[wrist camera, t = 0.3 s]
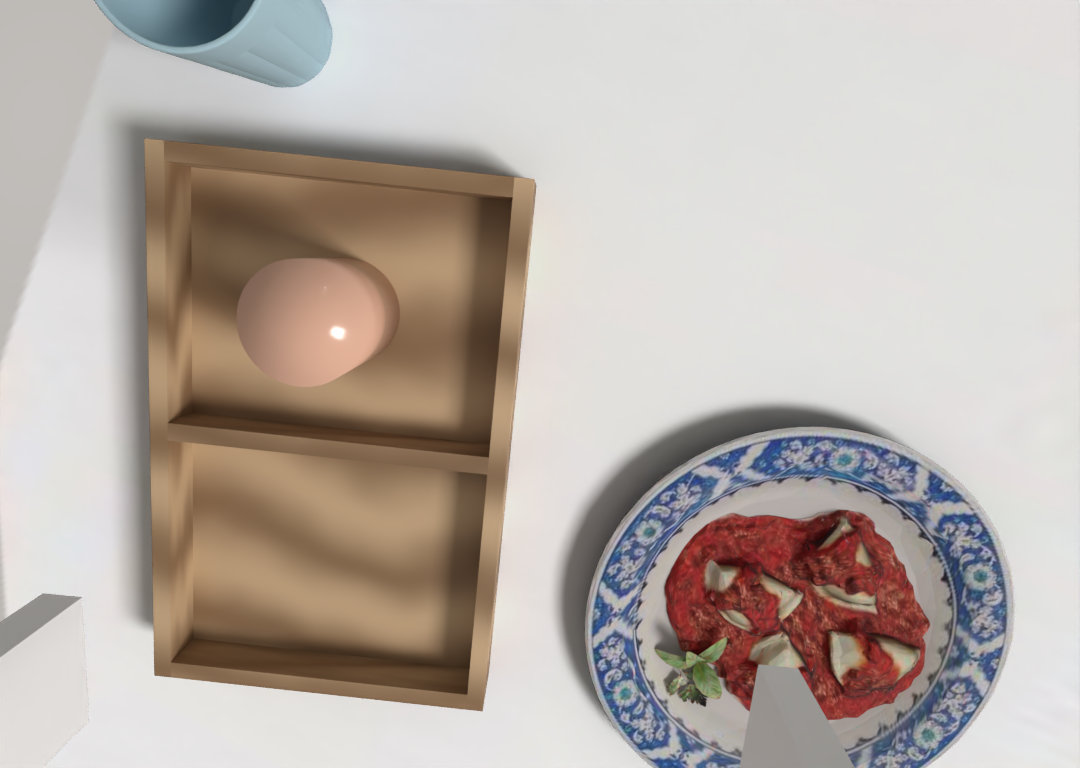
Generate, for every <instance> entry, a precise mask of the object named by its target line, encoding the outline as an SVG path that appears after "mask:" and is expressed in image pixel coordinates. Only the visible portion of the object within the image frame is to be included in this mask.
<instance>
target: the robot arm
mask: <svg viewBox="0 0 1080 768" xmlns="http://www.w3.org/2000/svg"><path fill="white" fill-rule="evenodd" d="M88 722H89V705H88V688H87V671H86V654H85V637H84V620H83V603H82V597H74V596H64V595H53V594H41V595H40V596H38V597H37V598H36V599H34V600H33V601H31V602H30V603H28V604H27V605H25V606H24V607H22V608H21V609H19V610H18V611H16V612H15V613H13V614H12V615H10V616H9V617H7V618H6V619H4V620H3V621H1V622H0V768H43V767H44V766H45V765H46V764H47V763H48V762H49V761H50V760H51V759H52V758H53V757H54V756H55V755H56V754H57V753H58V752H59V751H60V750H61V749H62V748H63V747H64V746H65V745H66V744H67V743H68V742H69V741H70V740H71V739H72V738H73V737H74V736H75V735H76V734H77V733H78V732H79V731H80V730H81V729H82V728H83V727H84V726H85V725H86V724H87V723H88ZM740 768H855V767H854V765H853V764H852V762H851V760H850V758H849V757H848V755H847V753H846V751H845V750H844V748H843V746H842V744H841V743H840V741H839V739H838V737H837V736H836V734H835V732H834V730H833V729H832V727H831V725H830V723H829V722H828V720H827V718H826V716H825V715H824V713H823V711H822V709H821V708H820V706H819V704H818V702H817V701H816V699H815V697H814V695H813V694H812V692H811V690H810V688H809V687H808V685H807V683H806V681H805V680H804V678H803V676H802V674H801V673H800V671H799V669H798V668H789V667H779V666H769V665H759V664H758V669H757V674H756V680H755V685H754V691H753V696H752V702H751V707H750V713H749V718H748V724H747V729H746V735H745V740H744V746H743V751H742V757H741V762H740Z"/></svg>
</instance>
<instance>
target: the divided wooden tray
mask: <svg viewBox="0 0 1080 768" xmlns="http://www.w3.org/2000/svg"><path fill="white" fill-rule="evenodd" d="M144 144H145V197H146V250H147V303H148V356H149V409H150V462H151V515H152V568H153V621H154V674H155V676H164V677H174V678H183V679H192V680H201V681H210V682H219V683H229V684H238V685H247V686H256V687H265V688H274V689H283V690H293V691H302V692H311V693H320V694H329V695H338V696H348V697H357V698H366V699H375V700H384V701H393V702H402V703H412V704H421V705H430V706H439V707H448V708H457V709H467V710H476V711H483V705H484V699H485V693H486V686H487V680H488V674H489V664H490V654H491V643H492V633H493V623H494V613H495V603H496V592H497V582H498V572H499V562H500V552H501V541H502V531H503V521H504V511H505V501H506V490H507V480H508V470H509V460H510V450H511V439H512V429H513V419H514V409H515V398H516V388H517V378H518V368H519V358H520V347H521V337H522V327H523V317H524V307H525V296H526V286H527V276H528V266H529V256H530V245H531V235H532V225H533V215H534V205H535V194H536V183H535V180H534V179H528V178H519V177H509V176H500V175H490V174H481V173H471V172H462V171H452V170H442V169H433V168H423V167H414V166H404V165H395V164H385V163H376V162H366V161H356V160H347V159H337V158H328V157H318V156H309V155H299V154H290V153H280V152H270V151H261V150H251V149H242V148H232V147H223V146H213V145H204V144H194V143H185V142H175V141H165V140H156V139H146V138H144ZM341 257H344V258H355V259H359V260H362V261H365V262H367V263H369V264H371V265H373V266H374V267H376V268H377V269H378V270H380V271H381V272H382V273H383V274H384V275H385V276H386V277H387V279H388V280H389V281H390V283H391V284H392V286H393V288H394V290H395V292H396V295H397V298H398V301H399V308H400V319H399V325H398V329H397V331H396V334H395V336H394V338H393V340H392V341H391V343H390V344H389V345H388V346H387V347H386V348H385V349H384V350H383V351H382V352H381V353H380V354H378V355H377V356H375V357H373V358H371V359H370V360H368V361H366V362H364V363H363V364H361V365H359V366H357V367H356V368H354V369H352V370H350V371H349V372H347V373H345V374H343V375H342V376H340V377H338V378H336V379H334V380H332V381H331V382H328V383H326V384H323V385H319V386H313V387H297V386H291V385H287V384H284V383H281V382H279V381H277V380H274V379H273V378H271V377H269V376H268V375H266V374H265V373H264V372H262V371H261V370H260V369H259V368H258V367H257V366H256V365H255V364H254V363H253V362H252V360H251V359H250V358H249V356H248V355H247V353H246V352H245V350H244V348H243V346H242V343H241V341H240V338H239V335H238V329H237V320H236V315H237V306H238V302H239V299H240V296H241V293H242V291H243V289H244V287H245V286H246V284H247V283H248V281H249V280H250V279H251V278H252V277H253V276H254V275H255V274H256V273H257V272H258V271H260V270H261V269H262V268H264V267H266V266H267V265H269V264H272V263H274V262H277V261H281V260H285V259H299V258H341Z"/></svg>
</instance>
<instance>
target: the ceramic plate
mask: <svg viewBox="0 0 1080 768" xmlns="http://www.w3.org/2000/svg"><path fill="white" fill-rule="evenodd" d="M1014 613H1015V600H1014V586H1013V581H1012V575H1011V570H1010V565H1009V562H1008V559H1007V556H1006V553H1005V549H1004V547H1003V545H1002V542H1001V540H1000V538H999V535H998V533H997V531H996V529H995V527H994V526H993V524H992V522H991V521H990V519H989V517H988V515H987V514H986V512H985V511H984V510H983V508H982V507H981V506H980V504H979V503H978V502H977V500H976V499H975V498H974V497H973V496H972V495H971V493H970V492H969V491H968V490H967V489H966V488H965V487H964V486H963V485H962V484H961V483H960V482H959V481H958V480H957V479H955V478H954V477H953V476H952V475H951V474H950V473H948V472H947V471H946V470H945V469H943V468H942V467H940V466H939V465H937V464H936V463H934V462H933V461H932V460H930V459H929V458H927V457H925V456H923V455H921V454H920V453H918V452H916V451H914V450H912V449H910V448H908V447H906V446H903V445H901V444H898V443H896V442H893V441H891V440H888V439H885V438H882V437H878V436H875V435H872V434H868V433H863V432H858V431H853V430H848V429H840V428H830V427H793V428H782V429H775V430H770V431H764V432H759V433H755V434H751V435H748V436H744V437H741V438H737V439H734V440H731V441H729V442H726V443H723V444H721V445H718V446H716V447H713V448H711V449H709V450H707V451H705V452H703V453H701V454H699V455H697V456H695V457H693V458H692V459H690V460H689V461H687V462H685V463H684V464H682V465H680V466H679V467H677V468H676V469H674V470H673V471H672V472H670V473H669V474H668V475H666V476H665V477H664V478H662V479H661V480H660V481H658V482H657V483H656V484H655V485H654V486H653V487H652V488H651V489H650V490H649V491H647V492H646V493H645V494H644V495H643V496H642V497H641V498H640V500H639V501H638V502H637V503H636V504H635V505H634V506H633V508H632V509H631V510H630V511H629V512H628V513H627V514H626V516H625V517H624V518H623V519H622V521H621V522H620V524H619V526H618V527H617V529H616V530H615V532H614V534H613V535H612V537H611V538H610V540H609V542H608V543H607V545H606V547H605V549H604V551H603V554H602V556H601V558H600V560H599V562H598V565H597V568H596V571H595V574H594V577H593V579H592V583H591V587H590V592H589V596H588V601H587V608H586V617H585V645H586V654H587V661H588V665H589V670H590V675H591V678H592V681H593V684H594V686H595V689H596V692H597V695H598V698H599V700H600V702H601V704H602V706H603V708H604V710H605V712H606V714H607V715H608V717H609V719H610V720H611V722H612V724H613V725H614V727H615V728H616V729H617V731H618V732H619V733H620V735H621V736H622V737H623V739H624V740H625V741H626V742H627V743H628V744H629V745H630V746H631V748H632V749H633V750H634V751H635V752H636V753H637V754H638V755H639V756H640V757H641V758H642V759H643V760H645V761H646V762H647V763H648V764H649V765H651V766H652V767H653V768H740V762H741V757H742V751H743V746H744V740H745V735H746V729H747V724H748V718H749V713H750V707H751V702H752V696H753V691H754V685H755V680H756V674H757V669H758V664H759V665H769V666H779V667H789V668H798V669H799V671H800V673H801V674H802V676H803V678H804V680H805V681H806V683H807V685H808V687H809V688H810V690H811V692H812V694H813V695H814V697H815V699H816V701H817V702H818V704H819V706H820V708H821V709H822V711H823V713H824V715H825V716H826V718H827V720H828V722H829V723H830V725H831V727H832V729H833V730H834V732H835V734H836V736H837V737H838V739H839V741H840V743H841V744H842V746H843V748H844V750H845V751H846V753H847V755H848V757H849V758H850V760H851V762H852V764H853V765H854V767H855V768H926V767H927V766H929V765H930V764H931V763H933V762H934V761H935V760H937V759H938V758H939V757H941V756H942V755H943V754H944V753H945V752H946V751H948V750H949V749H950V748H951V747H952V746H953V745H954V744H956V743H957V742H958V741H959V740H960V739H961V737H962V736H963V735H964V734H965V733H966V731H967V730H968V729H969V728H970V726H971V725H972V724H973V722H974V721H975V720H976V719H977V717H978V716H979V715H980V713H981V712H982V710H983V709H984V707H985V706H986V704H987V703H988V701H989V700H990V698H991V696H992V695H993V693H994V691H995V689H996V686H997V684H998V682H999V679H1000V677H1001V674H1002V672H1003V669H1004V666H1005V664H1006V661H1007V657H1008V653H1009V650H1010V646H1011V643H1012V638H1013V629H1014Z"/></svg>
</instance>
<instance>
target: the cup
mask: <svg viewBox="0 0 1080 768" xmlns="http://www.w3.org/2000/svg"><path fill="white" fill-rule="evenodd" d="M94 1H95V2H96V4H97V5H98V7H99V8H100V10H101V11H102V12H103V13H104V14H105V16H106V17H107V18H108V19H109V20H110V21H111V22H112V23H113V24H114V25H115V26H116V27H117V28H118V29H119V30H121V31H122V32H123V33H125V34H126V35H127V36H129V37H130V38H132V39H134V40H135V41H137V42H139V43H141V44H143V45H145V46H147V47H150V48H152V49H155V50H158V51H161V52H164V53H167V54H171V55H174V56H177V57H180V58H183V59H187V60H191V61H194V62H197V63H200V64H204V65H207V66H210V67H213V68H216V69H219V70H223V71H226V72H229V73H232V74H235V75H239V76H242V77H245V78H248V79H251V80H255V81H258V82H261V83H264V84H267V85H271V86H275V87H296V86H299V85H302V84H304V83H306V82H307V81H309V80H311V79H312V78H314V77H315V76H316V75H317V74H318V73H319V72H320V71H321V69H322V68H323V66H324V65H325V63H326V61H327V60H328V57H329V54H330V50H331V44H332V28H331V24H330V20H329V17H328V14H327V11H326V8H325V6H324V4H323V3H322V1H321V0H94Z"/></svg>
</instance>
